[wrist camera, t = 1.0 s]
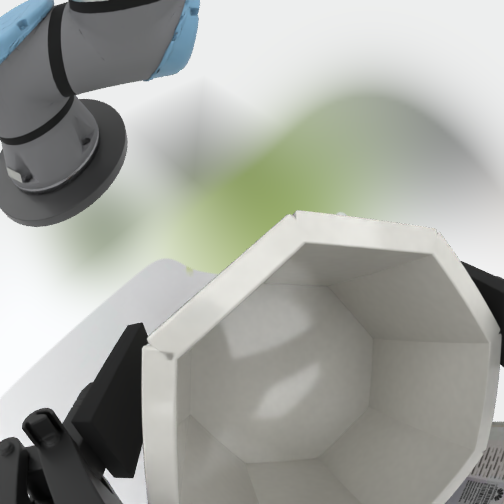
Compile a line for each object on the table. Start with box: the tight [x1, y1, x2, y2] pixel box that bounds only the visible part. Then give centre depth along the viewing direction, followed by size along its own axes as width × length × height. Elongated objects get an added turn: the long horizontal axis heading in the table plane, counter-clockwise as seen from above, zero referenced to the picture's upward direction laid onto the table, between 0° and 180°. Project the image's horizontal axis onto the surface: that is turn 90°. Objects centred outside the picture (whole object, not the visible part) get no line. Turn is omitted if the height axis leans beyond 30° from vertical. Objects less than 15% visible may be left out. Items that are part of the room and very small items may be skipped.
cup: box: [141, 210, 502, 504], centre depth 11 cm, size 11×11×9 cm
